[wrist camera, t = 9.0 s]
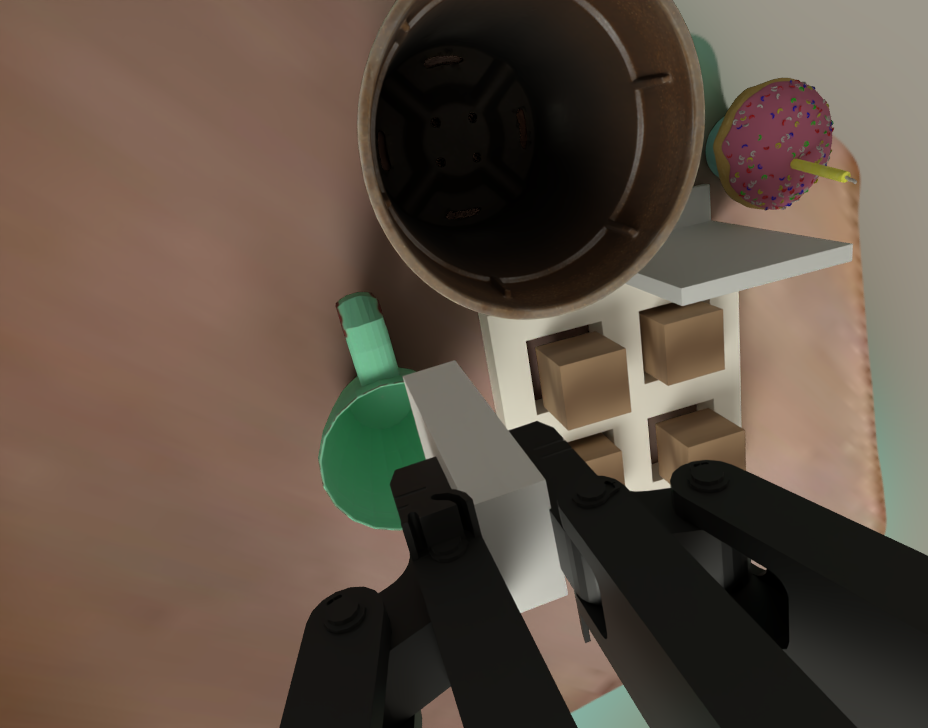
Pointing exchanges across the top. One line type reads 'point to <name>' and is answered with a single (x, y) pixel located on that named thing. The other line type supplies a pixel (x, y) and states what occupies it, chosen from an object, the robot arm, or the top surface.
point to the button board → (646, 392)
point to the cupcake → (773, 144)
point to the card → (728, 256)
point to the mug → (368, 421)
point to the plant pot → (531, 145)
